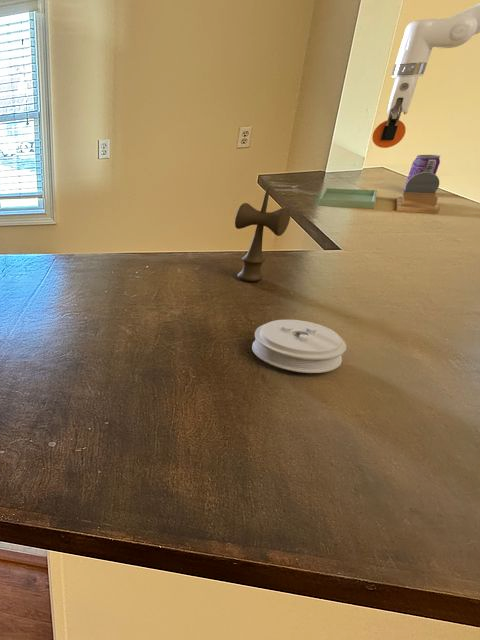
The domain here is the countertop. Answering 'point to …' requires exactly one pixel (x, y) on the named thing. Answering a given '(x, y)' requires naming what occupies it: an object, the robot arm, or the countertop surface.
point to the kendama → (259, 234)
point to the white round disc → (299, 346)
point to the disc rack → (417, 202)
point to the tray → (348, 198)
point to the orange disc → (388, 143)
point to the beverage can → (424, 165)
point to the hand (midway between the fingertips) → (386, 139)
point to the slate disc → (423, 183)
